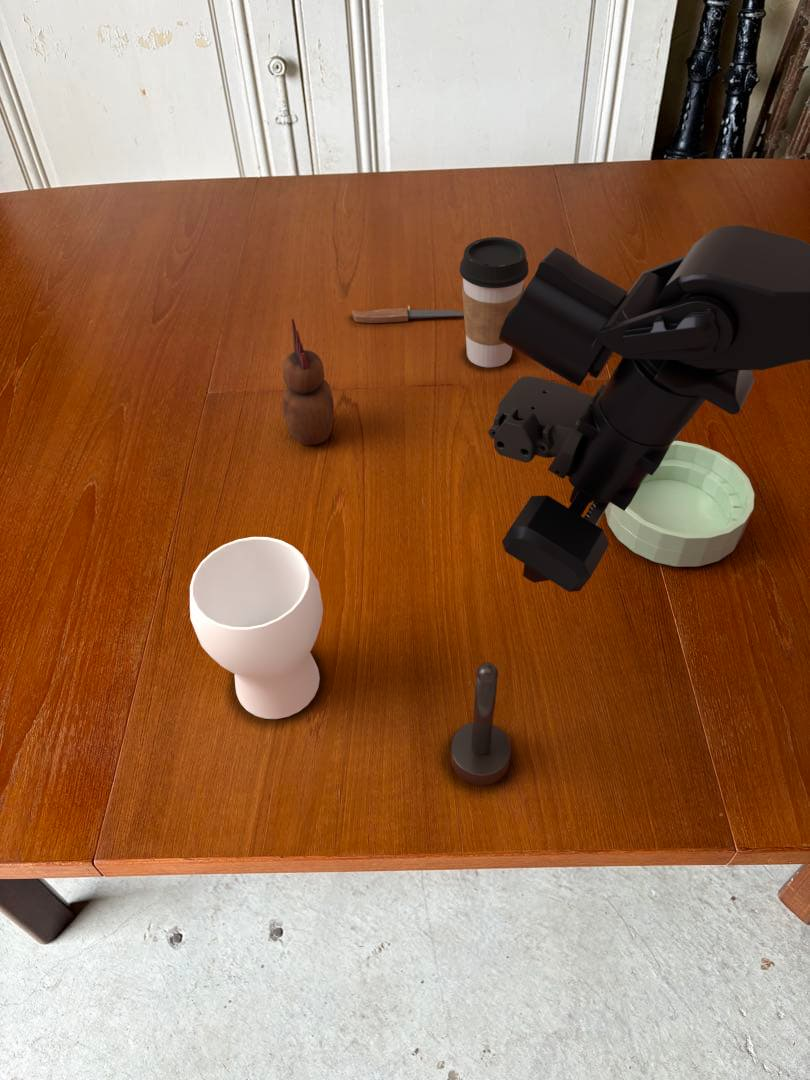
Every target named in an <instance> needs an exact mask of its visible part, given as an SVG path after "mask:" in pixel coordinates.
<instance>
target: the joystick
mask: <svg viewBox="0 0 810 1080" xmlns="http://www.w3.org/2000/svg"><path fill="white" fill-rule="evenodd" d="M498 678H499V671H498V668H497V666H496V665H495V664H494V663H492V662H489V661H486V662H482V663H480V664H479V665H478V666H477V668H476V670H475V683H474V699H473V715H472V722H468V723H466V724H464V725H462V726H461V727H460V728H458V730H457V731H456V732H455V733H454V735H453V737H452V739H451V742H450V743H451V744H450V764H451V767H452V768H453V771H454V773H455V774H456V775H457V777H459V778H460V780H462V781H463V782H465V783H467V784H469V785H472V786H476V787H477V786H478V787H485V786H490V785H492V784H495V783H497V782H498V781H500V780H501V779H502V778H503V777H505V775H506V773H507V772H508V769H509V766H510V760H511V751H512V749H511V743H510V739H509V738H508V736H507V734H506V733H505V732H504V731H503V730H502V729H501V728H500V727H498V726H497V725H495V724H494V717H495V706H496V697H497V687H498Z"/></svg>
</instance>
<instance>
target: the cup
mask: <svg viewBox="0 0 810 1080" xmlns="http://www.w3.org/2000/svg"><path fill="white" fill-rule="evenodd" d="M323 605H324V604H323V599H322V593H321V588H320V583H319V580H318V578H317V577H316V575H315V573H314V572H313V569H312V568H311V567H310V564H309V563H308V561H307V560H306V558H305V556H304V555H303V554H302V552H301V551H299V550H298V549H297V548H296V547H295V546H293V545H291V544H290V543H287V542H285V541H283V540H282V539H277V538H273V537H269V536H250V537H245V538H238V539H235V540H233V541H230V542H228V543H225V544H222V545H221V546H219V547H218V548H216V549H215V550H213V551H211V552H210V553H209V554H208V555H207V556H206V557H205V558H204V559H203V560H202V561H200V563H199V565H198V566H197V567H196V570H195V571H194V572H193V574H192V578H191V581H190V584H189V616H190V622H191V625H192V627H193V630H194V632H195V635H196V637H197V639H198V642H199V644H200V646H201V648H202V649H203V650H204V651H205V652H206V653H207V654H208V655H209V657H211V659H212V660H214V661H215V662H216V663H217V664H218V665H219V666H220V667H221V668H223V669H225V670H226V671H228V672H230V673H232V674H234V685H235V695H236V696H237V699H238V701H239V703H240V705H241V706H242V707H243V708H244V709H245V710H246V711H247V712H248V713H250V714H252V715H253V716H255V717H258V718H262V719H265V720H266V719H267V720H278V719H283V718H288V717H291V716H293V715H295V714H297V713H299V712H301V711H302V710H303V709H304V708H306V707H307V706H309V704H310V703H311V702H312V701H313V700H314V698H315V696H316V694H317V692H318V689H319V686H320V680H321V678H320V677H321V676H320V672H319V668H318V666H317V663H316V661H315V659H314V657H313V654H312V653H311V651H312V649H313V647H314V645H315V643H316V641H317V639H318V636H319V633H320V629H321V626H322V622H323V614H324V606H323Z"/></svg>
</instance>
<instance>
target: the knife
mask: <svg viewBox="0 0 810 1080" xmlns="http://www.w3.org/2000/svg"><path fill="white" fill-rule="evenodd" d="M410 307H411V306H410V305H408V306H407V307H398V308H382V309H375V310H374V309H373V310H365V311H359V310H352V311H351V313H352V318H353V321H355V322H357V323H363V324H383V323H401V322H402V323H403V322H409V319H428V318H429V319H431V318H450V317H464V311H460V310H454V309H410Z"/></svg>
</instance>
